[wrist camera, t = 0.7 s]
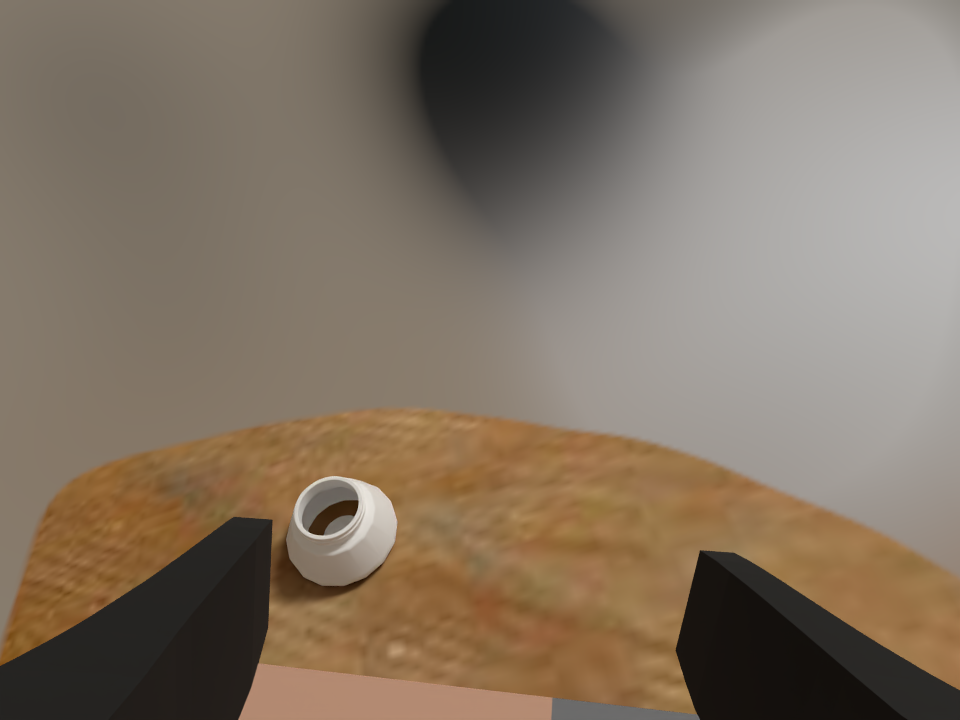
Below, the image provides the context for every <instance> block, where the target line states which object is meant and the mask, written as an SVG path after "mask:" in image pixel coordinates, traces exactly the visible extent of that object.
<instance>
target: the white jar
mask: <svg viewBox="0 0 960 720" xmlns="http://www.w3.org/2000/svg"><path fill="white" fill-rule="evenodd" d="M343 500H359V505H358V510H357V513H356V515H355V516H351V515H346V516H341V517H339V518H337V519H335V520H333V521H332V522H331V523H330V524H329V525H328V527H327V528H326V530H325V532H324V536H319V535H314V534H311V533H309V532H308V530H309V527H310V526H311V524H312V523H313V521H314V520H315V518H316V516H317V515H318V514H319V513H321V512H322V511H323V510H324V509H326V508H327V507H328V506H329V505H332V504H335V503H338V502H340V501H343ZM396 529H397V519H396V516H395V513H394V509H393V506H392V503H391V501H390V500H389V499H388V498H387V497H386V496H385V494H384V493H383V492H382V491H381V490H380V489H379V488H378V487H375V486H373V485H370V484H368V483H365V482H362V481H359V480H355V479H351V478H344V477H338V476H333V477H326V478H323V479H320V480H318V481H316V482H314V483H312V484H311V485H310V486H308V487H307V488H306V489H305V490H304V491H303V492H302V493H301V495H300V496H299V498H298V500H297V502H296V505H295V508H294V511H293V514H292V518H291V521H290V525H289V530H288V534H287V538H286V542H287V548H288V553H289V559H290V560H291V561H292V563H293V564H294V565H295V567H296V568H297V569H298V570H299V572H300V573H301V574H302V576H303V577H304V578H306V579H309V580H311V581H313V582H315V583H317V584H319V585H321V586H345V585H348V584H350V583H353V582H355V581H358V580H361V579H363V578H366V577H367V576H368V575H369V574H371V573H372V572H373V571H374V570H375V569H376V568H377V567H379V566H380V565H381V564H382V563H383V562H384V561H385V559H386V557H387V555H388V554H389V552H390V550H391V548H392V547H393V545H394V543H395V537H396Z"/></svg>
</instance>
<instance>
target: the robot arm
mask: <svg viewBox="0 0 960 720" xmlns="http://www.w3.org/2000/svg"><path fill="white" fill-rule="evenodd" d="M271 543H272V520H269V519H255V518H241V517H233V518H232V519H230V520H229V521H227V522H226V523H224V524H223V525H222V526H220V527H219V528H218V529H216V530H215V531H214V532H212V533H211V534H210V535H208V536H207V537H205V538H204V539H203V540H201V541H200V542H199V543H197V544H196V545H195V546H193V547H192V548H191V549H189V550H188V551H187V552H185V553H184V554H183V555H181V556H180V557H178V558H177V559H176V560H174V561H173V562H171V563H170V564H169V565H167V566H166V567H164V568H163V569H162V570H160V571H159V572H157V573H156V574H155V575H153V576H152V577H150V578H149V579H148V580H146V581H145V582H143V583H142V584H140V585H138V586H137V587H135V588H134V589H132V590H131V591H129V592H128V593H126V594H124V595H123V596H121V597H120V598H118V599H117V600H115V601H114V602H112V603H111V604H109V605H107V606H106V607H104V608H103V609H101V610H100V611H98V612H97V613H95V614H93V615H92V616H90V617H89V618H87V619H85V620H84V621H82V622H80V623H79V624H77V625H75V626H74V627H72V628H70V629H68V630H67V631H65V632H63V633H61V634H60V635H58V636H56V637H54V638H53V639H51V640H49V641H47V642H45V643H43V644H41V645H40V646H38V647H36V648H34V649H32V650H30V651H28V652H26V653H25V654H23V655H21V656H19V657H17V658H15V659H13V660H11V661H9V662H7V663H5V664H3V665H1V666H0V720H238V719H239V717H240V715H241V712H242V710H243V707H244V705H245V702H246V700H247V697H248V695H249V692H250V690H251V687H252V684H253V680H254V677H255V673H256V670H257V666H258V663H259V659H260V655H261V652H262V648H263V644H264V641H265V637H266V633H267V630H268V617H269V592H270V567H271ZM676 653H677V656H678V659H679V662H680V666H681V669H682V672H683V675H684V679H685V682H686V685H687V688H688V691H689V693H690V696H691V699H692V702H693V705H694V708H695V710H696V712H697V714H698V717H699V719H700V720H960V690H958V689H956V688H954V687H952V686H951V685H949V684H947V683H945V682H943V681H942V680H940V679H938V678H936V677H934V676H933V675H931V674H929V673H927V672H926V671H924V670H922V669H920V668H919V667H917V666H915V665H914V664H912V663H910V662H909V661H907V660H905V659H904V658H902V657H900V656H899V655H897V654H895V653H894V652H892V651H890V650H889V649H887V648H885V647H883V646H882V645H880V644H878V643H877V642H875V641H874V640H872V639H870V638H869V637H867V636H866V635H864V634H863V633H861V632H859V631H858V630H856V629H855V628H853V627H851V626H850V625H848V624H847V623H845V622H844V621H842V620H841V619H839V618H837V617H836V616H834V615H833V614H831V613H830V612H828V611H827V610H825V609H824V608H822V607H821V606H819V605H817V604H816V603H814V602H813V601H811V600H810V599H808V598H807V597H805V596H804V595H802V594H801V593H799V592H798V591H796V590H795V589H793V588H792V587H790V586H789V585H787V584H785V583H784V582H782V581H781V580H779V579H778V578H776V577H775V576H773V575H771V574H770V573H768V572H767V571H765V570H764V569H762V568H760V567H759V566H757V565H755V564H754V563H752V562H750V561H748V560H747V559H745V558H743V557H741V556H739V555H737V554H735V553H729V552H715V551H701V550H700V553H699V557H698V561H697V565H696V569H695V573H694V577H693V581H692V585H691V590H690V594H689V598H688V602H687V606H686V610H685V614H684V618H683V622H682V626H681V630H680V634H679V639H678V643H677V647H676Z"/></svg>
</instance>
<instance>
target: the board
mask: <svg viewBox="0 0 960 720" xmlns="http://www.w3.org/2000/svg"><path fill="white" fill-rule="evenodd" d="M238 720H700V719H699V717H698V715H696V714H687V713H678V712H670V711H661V710H653V709H644V708H635V707H627V706H618V705H610V704H601V703H593V702H584V701H575V700H567V699H558V698H550V697H541V696H533V695H524V694H515V693H507V692H498V691H490V690H481V689H472V688H464V687H455V686H447V685H438V684H430V683H421V682H412V681H404V680H395V679H387V678H378V677H369V676H361V675H352V674H344V673H335V672H327V671H318V670H309V669H301V668H292V667H284V666H275V665H266V664H258V666H257V670H256V673H255V677H254V680H253V684H252V687H251V690H250V692H249V695H248V697H247V700H246V702H245V705H244V707H243V710H242V712H241V715H240V717H239V719H238Z"/></svg>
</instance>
